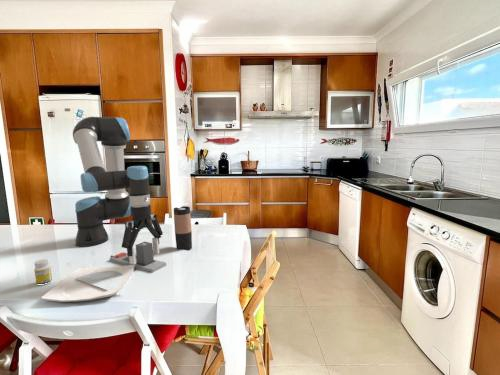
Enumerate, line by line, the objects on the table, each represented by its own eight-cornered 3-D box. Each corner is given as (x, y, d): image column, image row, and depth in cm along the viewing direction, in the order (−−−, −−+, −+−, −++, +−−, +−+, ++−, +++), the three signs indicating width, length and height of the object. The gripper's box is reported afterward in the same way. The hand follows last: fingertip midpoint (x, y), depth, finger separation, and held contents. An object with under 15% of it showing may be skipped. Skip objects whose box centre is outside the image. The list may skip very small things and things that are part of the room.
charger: (137, 266, 114) (135, 244, 113) (146, 262, 118) (144, 241, 117) (145, 268, 112) (143, 246, 111) (153, 264, 116) (152, 242, 115)
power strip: (104, 261, 123) (103, 254, 122) (118, 255, 129) (117, 249, 128) (153, 274, 108) (152, 267, 108) (166, 267, 114) (166, 260, 114)
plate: (115, 302, 90) (115, 295, 90) (35, 308, 88) (34, 300, 88) (139, 269, 114) (138, 263, 114) (76, 273, 112) (75, 267, 112)
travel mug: (188, 252, 131) (185, 210, 128) (173, 251, 132) (170, 209, 129) (194, 246, 138) (192, 206, 135) (180, 245, 140) (177, 206, 137)
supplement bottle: (42, 280, 107) (38, 259, 105) (55, 279, 107) (52, 258, 106) (33, 286, 102) (30, 264, 101) (47, 285, 102) (44, 263, 101)
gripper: (120, 212, 99) (126, 271, 103) (169, 200, 120) (172, 249, 123) (107, 210, 103) (113, 267, 106) (156, 199, 123) (160, 247, 127)
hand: (145, 257), depth 115 cm, fingers open, 11 cm apart
